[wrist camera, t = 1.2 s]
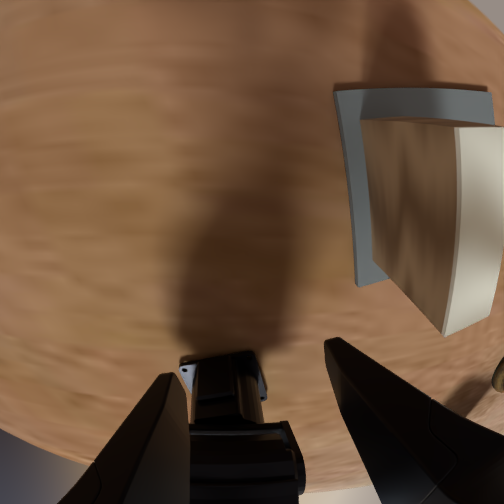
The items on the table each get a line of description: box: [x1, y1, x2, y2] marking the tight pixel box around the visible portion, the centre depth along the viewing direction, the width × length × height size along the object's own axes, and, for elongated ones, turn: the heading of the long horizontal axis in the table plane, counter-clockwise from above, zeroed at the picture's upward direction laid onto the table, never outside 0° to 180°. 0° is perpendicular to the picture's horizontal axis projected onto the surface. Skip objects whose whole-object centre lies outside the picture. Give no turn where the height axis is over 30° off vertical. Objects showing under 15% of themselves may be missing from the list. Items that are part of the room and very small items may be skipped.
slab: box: [360, 116, 504, 337], centre depth 15 cm, size 10×4×9 cm, turn 12°
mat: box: [333, 88, 495, 287], centre depth 20 cm, size 14×15×1 cm
